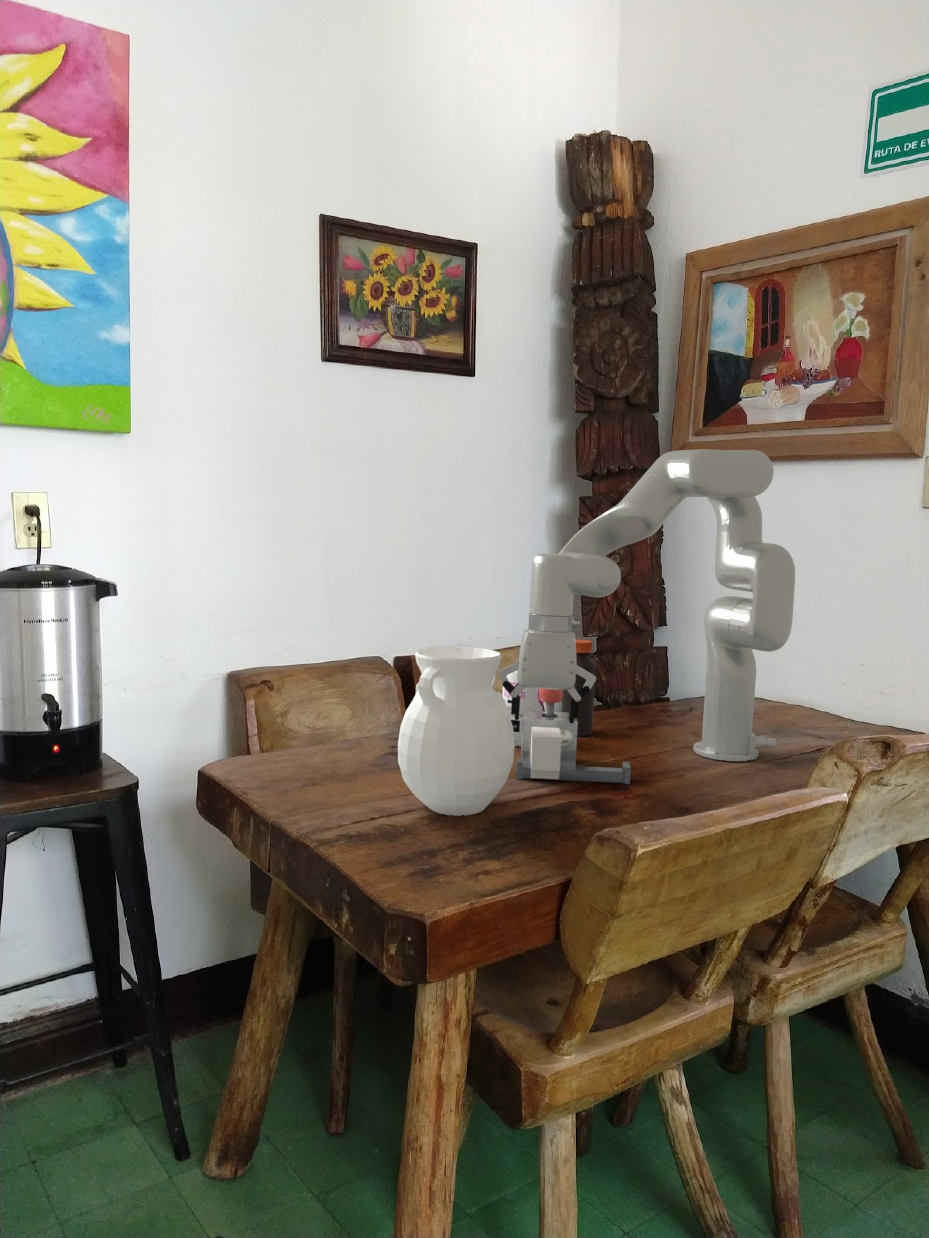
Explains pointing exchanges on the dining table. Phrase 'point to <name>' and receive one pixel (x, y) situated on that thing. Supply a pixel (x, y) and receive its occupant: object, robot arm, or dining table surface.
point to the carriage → (545, 752)
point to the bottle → (588, 700)
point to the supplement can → (521, 705)
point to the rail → (581, 773)
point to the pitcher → (456, 731)
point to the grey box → (559, 721)
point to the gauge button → (550, 699)
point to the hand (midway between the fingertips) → (543, 720)
